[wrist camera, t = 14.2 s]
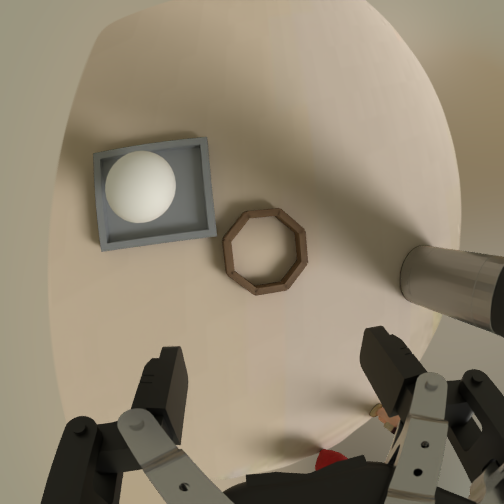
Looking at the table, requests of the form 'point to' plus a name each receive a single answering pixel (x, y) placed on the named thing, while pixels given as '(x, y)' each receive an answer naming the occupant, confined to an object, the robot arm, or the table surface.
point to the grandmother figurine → (385, 418)
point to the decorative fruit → (328, 458)
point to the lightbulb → (140, 186)
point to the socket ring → (295, 269)
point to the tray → (181, 209)
